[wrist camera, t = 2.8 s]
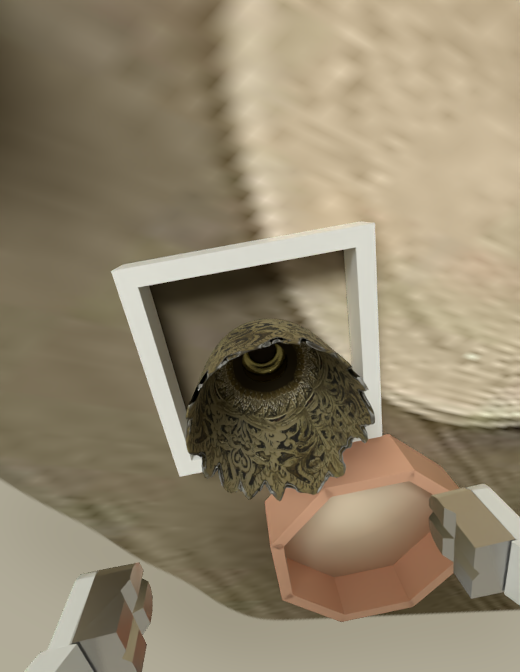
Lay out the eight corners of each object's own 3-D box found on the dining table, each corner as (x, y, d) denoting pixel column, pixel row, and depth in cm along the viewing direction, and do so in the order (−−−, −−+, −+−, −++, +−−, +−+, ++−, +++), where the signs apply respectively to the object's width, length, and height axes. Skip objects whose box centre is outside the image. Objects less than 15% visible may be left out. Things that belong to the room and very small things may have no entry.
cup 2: (279, 419, 22) (304, 525, 15) (179, 372, 20) (151, 465, 13) (344, 329, 20) (412, 398, 13) (241, 266, 18) (250, 306, 11)
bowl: (443, 423, 24) (477, 457, 20) (436, 552, 29) (463, 595, 25) (255, 460, 23) (260, 501, 20) (282, 584, 28) (289, 632, 25)
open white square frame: (359, 221, 18) (374, 222, 16) (369, 417, 23) (382, 436, 21) (123, 264, 18) (111, 271, 16) (183, 454, 23) (179, 476, 21)
